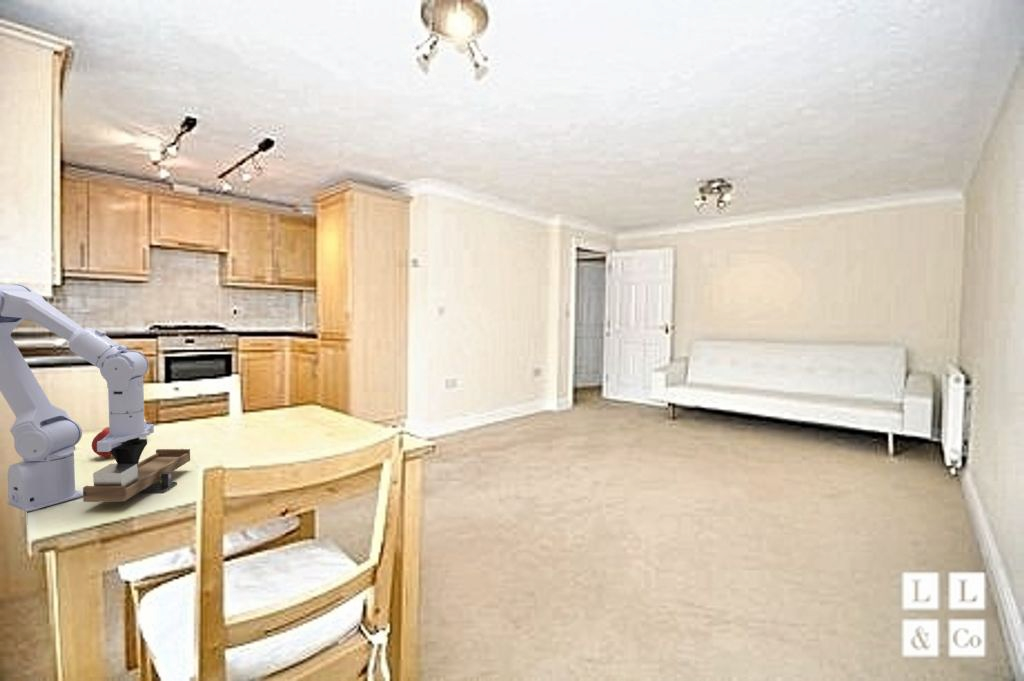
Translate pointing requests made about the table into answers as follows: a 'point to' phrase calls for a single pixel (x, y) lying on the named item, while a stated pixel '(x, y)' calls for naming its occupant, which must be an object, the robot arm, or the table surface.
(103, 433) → the onion
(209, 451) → the table surface
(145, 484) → the balance beam
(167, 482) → the beam stand
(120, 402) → the robot arm
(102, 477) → the block
